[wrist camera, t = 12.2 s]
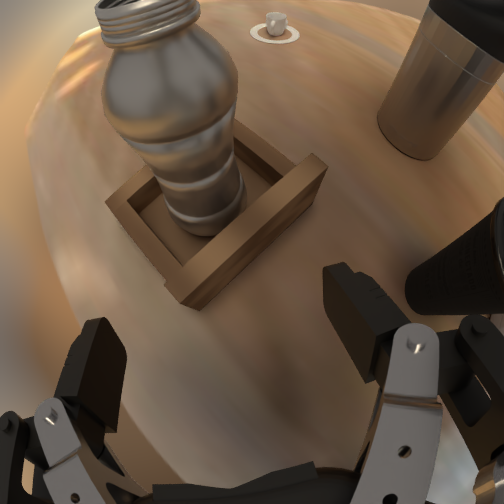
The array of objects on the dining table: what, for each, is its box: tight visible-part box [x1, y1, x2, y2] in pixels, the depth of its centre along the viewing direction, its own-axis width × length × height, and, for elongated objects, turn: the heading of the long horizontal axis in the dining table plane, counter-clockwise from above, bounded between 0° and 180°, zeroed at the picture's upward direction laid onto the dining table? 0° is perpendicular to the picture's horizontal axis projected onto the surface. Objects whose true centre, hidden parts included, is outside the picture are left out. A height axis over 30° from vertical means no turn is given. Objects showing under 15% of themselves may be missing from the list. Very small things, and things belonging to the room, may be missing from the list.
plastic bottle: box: [95, 0, 247, 236], centre depth 15 cm, size 6×7×20 cm
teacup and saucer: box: [250, 12, 300, 44], centre depth 33 cm, size 9×8×4 cm
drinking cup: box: [405, 197, 504, 315], centre depth 14 cm, size 8×8×20 cm
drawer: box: [105, 118, 328, 311], centre depth 22 cm, size 14×12×7 cm
